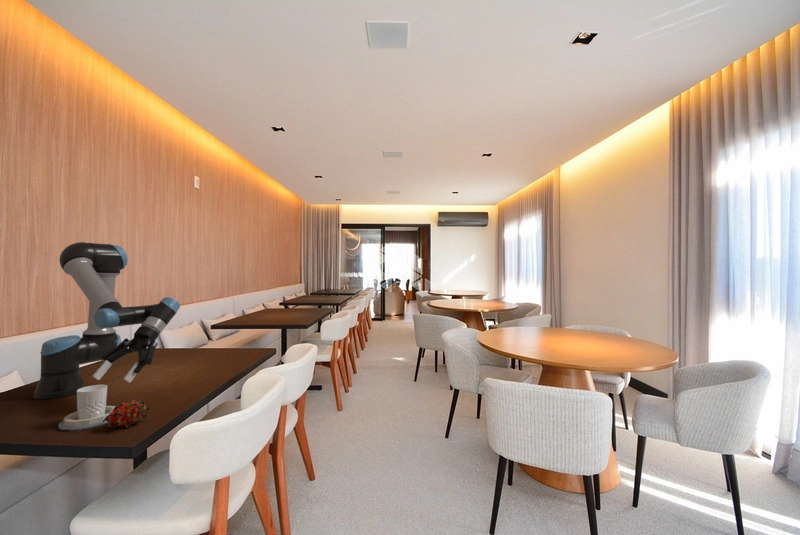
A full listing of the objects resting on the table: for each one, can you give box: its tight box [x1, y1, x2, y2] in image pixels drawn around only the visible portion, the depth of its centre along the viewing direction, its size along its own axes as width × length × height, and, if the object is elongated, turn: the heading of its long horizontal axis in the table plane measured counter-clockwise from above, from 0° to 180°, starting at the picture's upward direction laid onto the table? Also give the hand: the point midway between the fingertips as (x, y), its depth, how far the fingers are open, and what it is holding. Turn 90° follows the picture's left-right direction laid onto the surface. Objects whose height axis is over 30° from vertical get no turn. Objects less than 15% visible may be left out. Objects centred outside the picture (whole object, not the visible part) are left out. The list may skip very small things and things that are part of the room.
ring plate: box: [58, 405, 117, 432], centre depth 117 cm, size 16×16×2 cm
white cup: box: [76, 384, 108, 420], centre depth 117 cm, size 8×8×10 cm
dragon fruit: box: [103, 399, 150, 428], centre depth 113 cm, size 8×8×12 cm
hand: (111, 379), depth 123 cm, fingers open, 13 cm apart
